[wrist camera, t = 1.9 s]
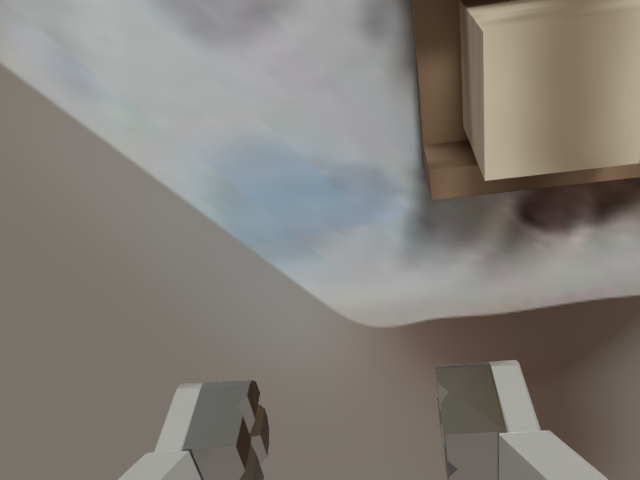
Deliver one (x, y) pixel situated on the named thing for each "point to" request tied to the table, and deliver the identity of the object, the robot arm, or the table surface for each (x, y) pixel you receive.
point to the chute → (447, 116)
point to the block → (550, 84)
